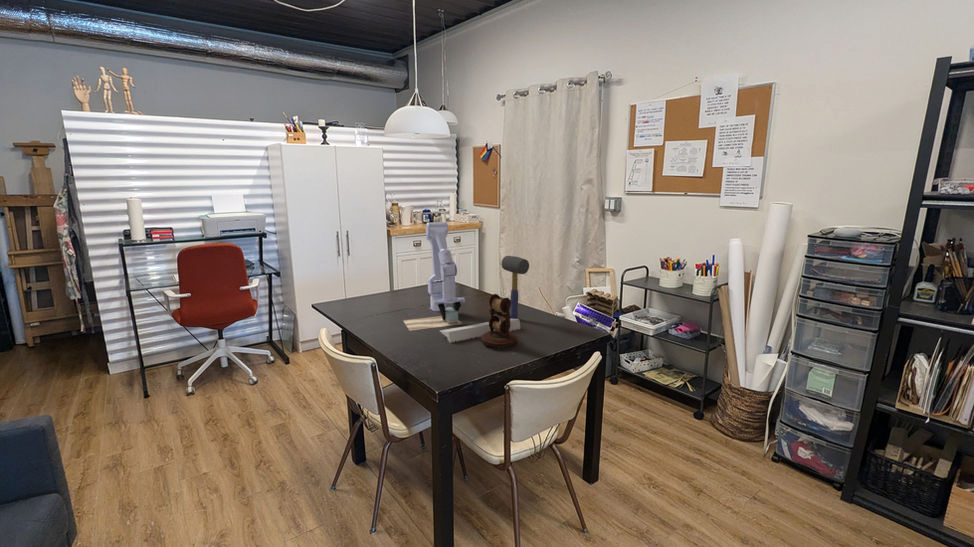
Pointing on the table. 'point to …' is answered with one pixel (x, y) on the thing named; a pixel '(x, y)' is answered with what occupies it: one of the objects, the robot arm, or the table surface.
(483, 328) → the decorative molding
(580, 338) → the table surface
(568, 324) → the table surface
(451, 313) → the block
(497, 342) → the wooden spool holder
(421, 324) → the birch board
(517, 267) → the rubber mallet
